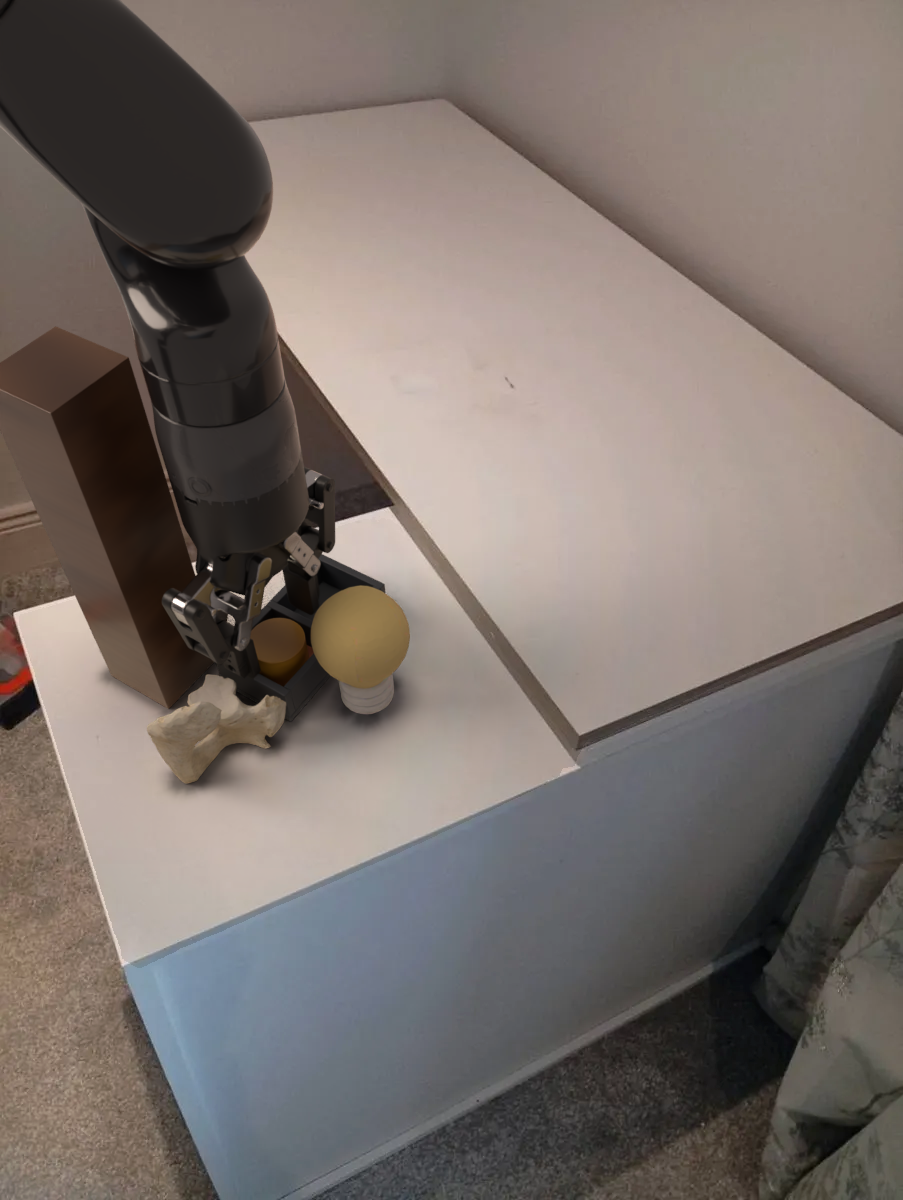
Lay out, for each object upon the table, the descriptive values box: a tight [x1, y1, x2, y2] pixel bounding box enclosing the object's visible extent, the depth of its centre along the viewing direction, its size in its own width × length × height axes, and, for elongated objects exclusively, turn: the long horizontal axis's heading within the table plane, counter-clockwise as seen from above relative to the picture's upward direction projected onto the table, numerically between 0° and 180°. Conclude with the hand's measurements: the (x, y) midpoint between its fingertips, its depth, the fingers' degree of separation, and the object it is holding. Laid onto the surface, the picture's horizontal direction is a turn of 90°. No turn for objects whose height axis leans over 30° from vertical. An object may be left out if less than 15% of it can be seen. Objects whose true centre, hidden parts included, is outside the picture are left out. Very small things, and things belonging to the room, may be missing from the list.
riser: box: [0, 326, 215, 710], centre depth 61 cm, size 6×6×26 cm
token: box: [250, 618, 309, 687], centre depth 69 cm, size 4×4×3 cm
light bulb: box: [311, 586, 411, 715], centre depth 65 cm, size 6×6×10 cm
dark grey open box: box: [215, 553, 386, 722], centre depth 71 cm, size 12×6×3 cm, turn 148°
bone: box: [146, 673, 286, 785], centre depth 63 cm, size 9×6×10 cm
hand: (275, 637), depth 67 cm, fingers open, 6 cm apart
